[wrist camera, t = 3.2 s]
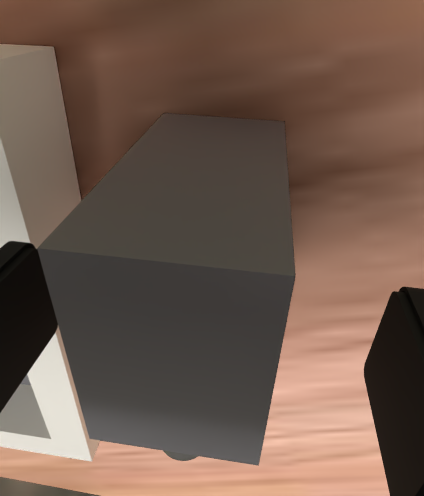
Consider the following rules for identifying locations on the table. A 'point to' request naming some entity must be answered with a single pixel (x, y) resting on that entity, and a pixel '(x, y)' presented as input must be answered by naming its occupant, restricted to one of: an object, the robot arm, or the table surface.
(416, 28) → the table surface
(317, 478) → the table surface
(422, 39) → the table surface
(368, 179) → the table surface
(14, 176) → the power strip
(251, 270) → the plug
